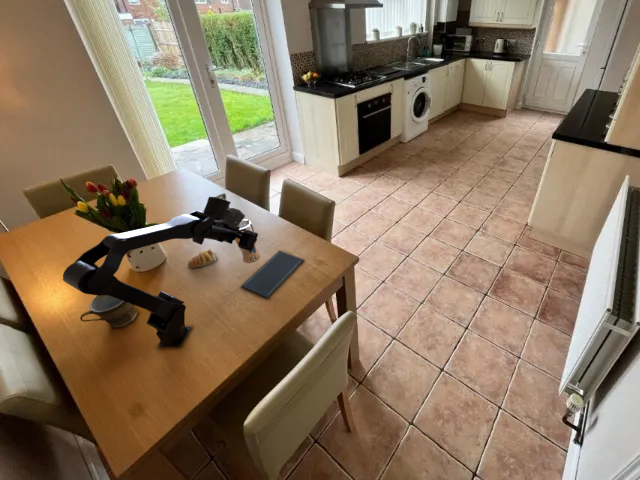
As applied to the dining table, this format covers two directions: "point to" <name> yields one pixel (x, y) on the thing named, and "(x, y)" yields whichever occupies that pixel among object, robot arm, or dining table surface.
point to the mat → (272, 274)
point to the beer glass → (254, 254)
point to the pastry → (202, 259)
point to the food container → (222, 197)
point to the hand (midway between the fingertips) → (249, 237)
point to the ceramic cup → (111, 311)
